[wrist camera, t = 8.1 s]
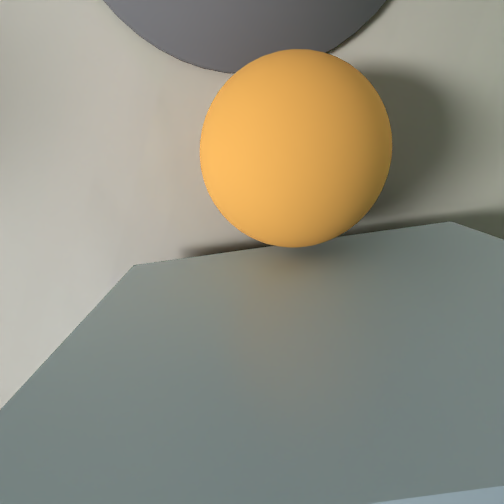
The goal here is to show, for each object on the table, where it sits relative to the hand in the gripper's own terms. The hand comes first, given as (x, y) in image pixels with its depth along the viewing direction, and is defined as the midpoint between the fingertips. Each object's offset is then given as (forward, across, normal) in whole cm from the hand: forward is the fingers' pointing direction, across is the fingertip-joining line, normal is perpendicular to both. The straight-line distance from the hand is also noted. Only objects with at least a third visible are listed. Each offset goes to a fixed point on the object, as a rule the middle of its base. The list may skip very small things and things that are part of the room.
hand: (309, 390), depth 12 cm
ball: (0, 0, +8) cm, 8 cm away
